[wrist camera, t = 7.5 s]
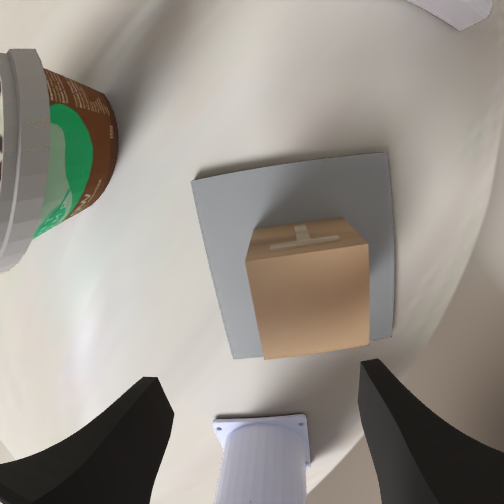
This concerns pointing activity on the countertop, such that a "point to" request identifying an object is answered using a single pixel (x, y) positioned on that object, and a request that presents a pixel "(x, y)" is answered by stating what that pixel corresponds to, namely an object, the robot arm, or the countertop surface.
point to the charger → (457, 11)
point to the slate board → (289, 212)
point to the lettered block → (309, 287)
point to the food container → (48, 150)
